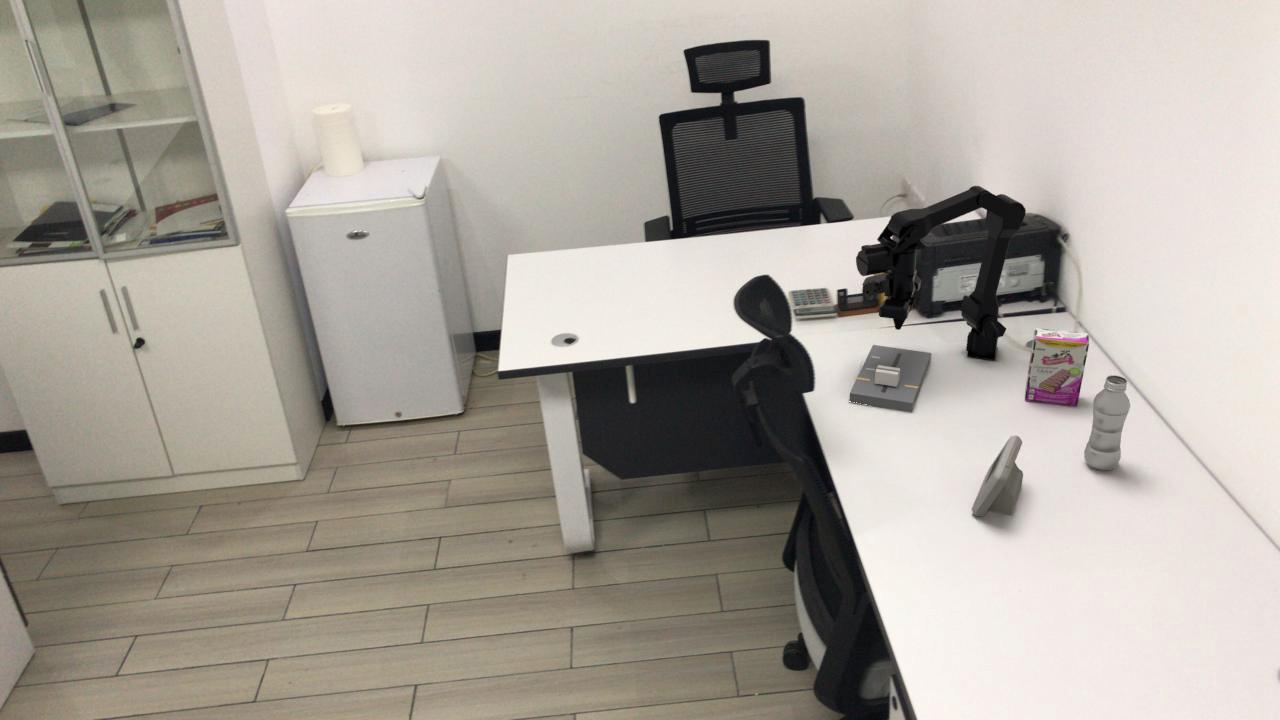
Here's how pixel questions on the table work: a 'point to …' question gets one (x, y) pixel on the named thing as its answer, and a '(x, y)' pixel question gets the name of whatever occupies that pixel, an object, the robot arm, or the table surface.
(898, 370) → the fader knob
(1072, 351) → the candy bar box
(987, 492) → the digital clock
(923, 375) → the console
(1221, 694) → the table surface
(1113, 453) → the plastic bottle
